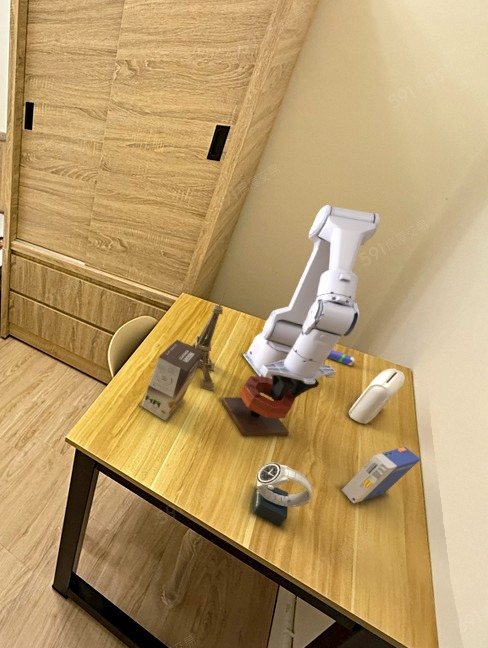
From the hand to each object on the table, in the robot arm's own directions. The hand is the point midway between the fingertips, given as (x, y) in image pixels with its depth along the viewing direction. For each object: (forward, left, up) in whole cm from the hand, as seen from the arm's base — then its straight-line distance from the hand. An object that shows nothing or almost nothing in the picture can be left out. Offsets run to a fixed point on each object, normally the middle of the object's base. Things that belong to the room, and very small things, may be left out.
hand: (280, 397), depth 90 cm
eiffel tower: (-15, -12, -7) cm, 20 cm away
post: (0, -4, -7) cm, 8 cm away
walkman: (+18, +8, -7) cm, 21 cm away
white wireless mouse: (-2, +24, -7) cm, 26 cm away
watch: (+21, -13, -7) cm, 26 cm away
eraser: (-20, +31, -7) cm, 38 cm away
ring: (0, -3, -1) cm, 4 cm away
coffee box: (-4, -24, -7) cm, 25 cm away
